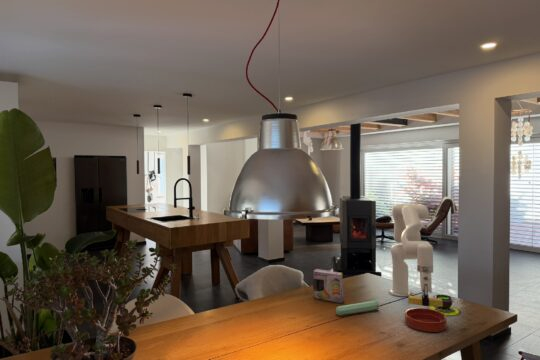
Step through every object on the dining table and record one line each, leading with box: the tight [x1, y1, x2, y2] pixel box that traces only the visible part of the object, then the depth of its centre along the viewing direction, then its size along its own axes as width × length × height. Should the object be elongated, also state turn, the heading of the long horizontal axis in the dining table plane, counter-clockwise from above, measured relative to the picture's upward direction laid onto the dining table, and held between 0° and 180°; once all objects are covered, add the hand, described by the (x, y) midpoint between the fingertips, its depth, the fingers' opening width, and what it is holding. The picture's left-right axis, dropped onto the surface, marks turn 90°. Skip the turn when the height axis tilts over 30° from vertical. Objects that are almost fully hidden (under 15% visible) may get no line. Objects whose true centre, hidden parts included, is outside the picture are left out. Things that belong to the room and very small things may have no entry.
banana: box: [407, 295, 443, 307], centre depth 191 cm, size 5×16×3 cm, turn 71°
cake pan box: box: [312, 268, 345, 304], centre depth 229 cm, size 19×5×18 cm, turn 53°
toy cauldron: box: [428, 290, 460, 316], centre depth 209 cm, size 15×15×11 cm
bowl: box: [404, 307, 448, 333], centre depth 190 cm, size 20×20×5 cm
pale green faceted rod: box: [335, 299, 380, 317], centre depth 208 cm, size 6×6×25 cm
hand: (425, 303), depth 190 cm, fingers closed on banana, 3 cm apart
